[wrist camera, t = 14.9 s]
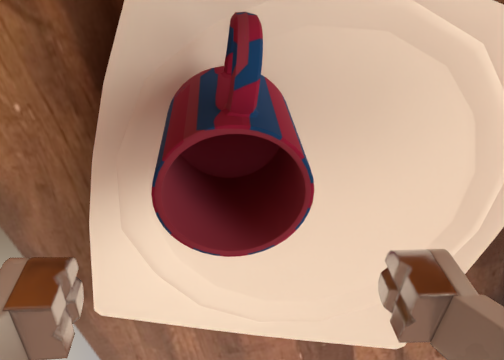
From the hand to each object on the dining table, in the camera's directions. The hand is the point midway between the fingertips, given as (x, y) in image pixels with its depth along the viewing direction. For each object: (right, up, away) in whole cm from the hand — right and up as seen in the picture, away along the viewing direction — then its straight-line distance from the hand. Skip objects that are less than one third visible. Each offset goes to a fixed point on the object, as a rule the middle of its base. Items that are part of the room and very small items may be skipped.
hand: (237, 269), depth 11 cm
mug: (-1, +7, +11) cm, 13 cm away
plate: (+4, +2, +18) cm, 19 cm away
